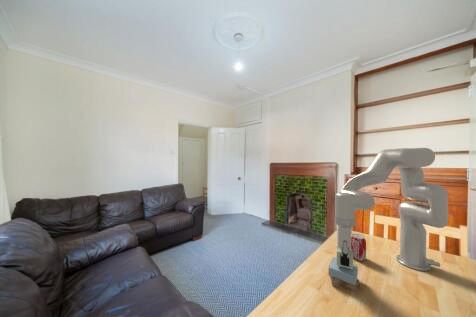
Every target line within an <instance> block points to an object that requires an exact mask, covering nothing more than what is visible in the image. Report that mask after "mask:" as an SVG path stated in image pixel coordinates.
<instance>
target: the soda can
mask: <svg viewBox="0 0 476 317" xmlns="http://www.w3.org/2000/svg"><path fill="white" fill-rule="evenodd" d="M351 249H352V251H353V260H356V261H361V262H362V261H365V260H366V259H367V240H366V238H365V236H364V235H362V234H359V233H353V234H352V237H351Z"/></svg>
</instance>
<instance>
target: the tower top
mask: <svg viewBox="0 0 476 317" xmlns="http://www.w3.org/2000/svg"><path fill="white" fill-rule="evenodd" d="M358 267H359V264H356V263H354V262H353V269H349V268H345V267H341V266H337V257H334V256H333V257H332V258H331V260H330V263H329V264H328V276H329V277H330V276H332V277H335V278H337V279H340V280H343V281H345V282H348V283H351V284H354V285H356V281H357V280H358V275H359V274H358V273H359V268H358Z"/></svg>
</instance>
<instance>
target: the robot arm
mask: <svg viewBox="0 0 476 317" xmlns="http://www.w3.org/2000/svg"><path fill="white" fill-rule="evenodd" d="M435 160H436V154H435V152H434V150H432V149H431V148H428V147H413V148H411V147H409V148H407V147H405V148H393V149H391V148H390V149H383V150H380V151H379V152H378V153H377V154H376V155H375V157H374V159H372V162H371V163H370V164H369V166H368V167H367V168H366V170H365V171H363V172H361V173H359V174H358V175H356V176H354V177H352V178H350V179H348V181H347V182H346V183H345V184H344V185H343V187H342V188H341V189H340V191H339V192H337V193H336V194H335V197H334V198H335V199H334V200H335V201H334V202H335V203H334V204H335V207H334V209H335V210H334V218H335V220H334V223H335V224H336V225H337V229H336V231H337V233H336V234H337V236H336V237H337V241H336V243H337V245H336V249H337V248H338V249H341V255H340V264H341V265H343V266H347V267H349V251H350V250H351V237H352V232H353V230H352V228H355V227H356V210H358V211H369V210H371V209H373V208H374V206H375V204H376V201H375V198H374V197H373V195H371V194H369V193H367V192H361V191H359V190H361V189H362V188H366V187H369V186H375V185H378V184H379V185H380V184H383V183H385V182H386V181H387V179H388V178H389V176H390V175H391V173H392V172H393V170H394V169H395V168H397V169H398V171H399V173H400V188H401V195H402V196H403V198H405V199H408V200H410V201H402V202H401V203H399V205H398V207H397V208H398V210H397V212H398V217H399V219H400V233H399V236H400V237H399V238H400V241H399V242H400V243H399V244H400V245H399V248H400V249H399V250H400V251H399V254H397V255H395V259H396V261H397V262H398V263H399V264H401V265H403V266H405V267H408V268H410V269H412V270H416V271H422V272H427V271H430V270H431V269H432V268H431V266H434V267H439V268H441V263H440V262H438V261H435V259H432V258H427V230H426V227H425V226H428V227H432V228H438V229H443V228H445V227H446V226H447V225H448V223H449V197H448V196H449V195H448V191H447V190H446V189H447V188H445V187H444V186H443V185H441V184H438V183H433V182H432V183H431V182H427V181H425V174H424V173H425V172H424V170H423V168H425V167H429V166H431V165H432V164H433V163H434V162H435ZM411 200H412V201H411ZM414 201H415V202H414ZM421 202H422V203H421ZM426 203H427V204H426ZM424 225H425V226H424ZM342 247H343V248H342ZM347 248H348V249H347Z"/></svg>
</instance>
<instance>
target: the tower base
mask: <svg viewBox="0 0 476 317" xmlns="http://www.w3.org/2000/svg"><path fill="white" fill-rule="evenodd" d="M329 278H330V281H331V283H330V284H331V286H333V287H337V288H342V289H346V290H352V291H355V292H360V289H361V288H360V286H361V285H360V282H359V280H358V279H357V281H356V285H354V284H351V283H348V282H345V281H343V280H340V279H337V278H335V277H332V276H329Z"/></svg>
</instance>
